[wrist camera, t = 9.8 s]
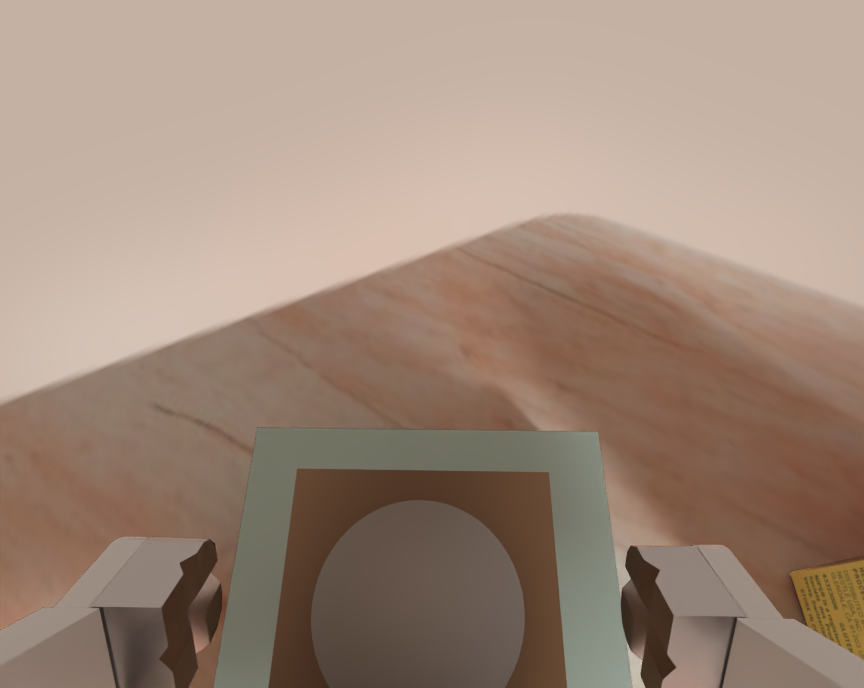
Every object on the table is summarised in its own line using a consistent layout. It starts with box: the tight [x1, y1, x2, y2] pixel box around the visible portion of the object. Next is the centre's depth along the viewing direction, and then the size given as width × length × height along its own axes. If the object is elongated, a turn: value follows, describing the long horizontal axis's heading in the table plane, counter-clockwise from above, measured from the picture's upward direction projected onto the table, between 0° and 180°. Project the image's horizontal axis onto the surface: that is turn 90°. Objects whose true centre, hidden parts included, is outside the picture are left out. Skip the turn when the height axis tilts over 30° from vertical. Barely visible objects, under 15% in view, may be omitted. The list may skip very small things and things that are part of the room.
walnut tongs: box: [268, 469, 567, 688], centre depth 11 cm, size 4×4×11 cm
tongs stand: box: [213, 427, 632, 688], centre depth 15 cm, size 10×10×4 cm
